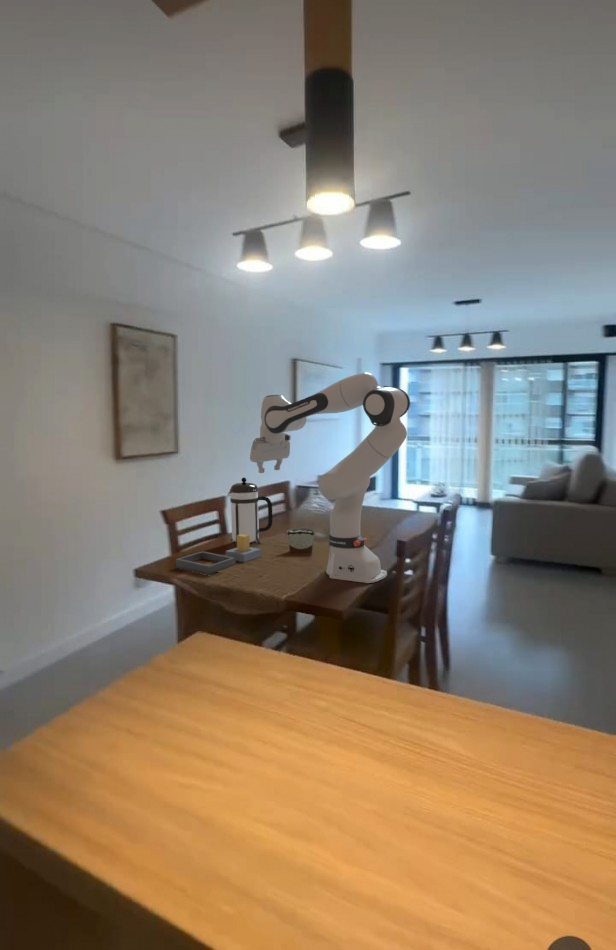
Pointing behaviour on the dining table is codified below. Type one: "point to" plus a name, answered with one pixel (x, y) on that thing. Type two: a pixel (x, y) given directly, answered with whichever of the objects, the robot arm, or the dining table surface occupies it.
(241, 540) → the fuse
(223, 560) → the parts tray
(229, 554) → the socket block
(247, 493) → the coffee press
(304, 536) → the food container
